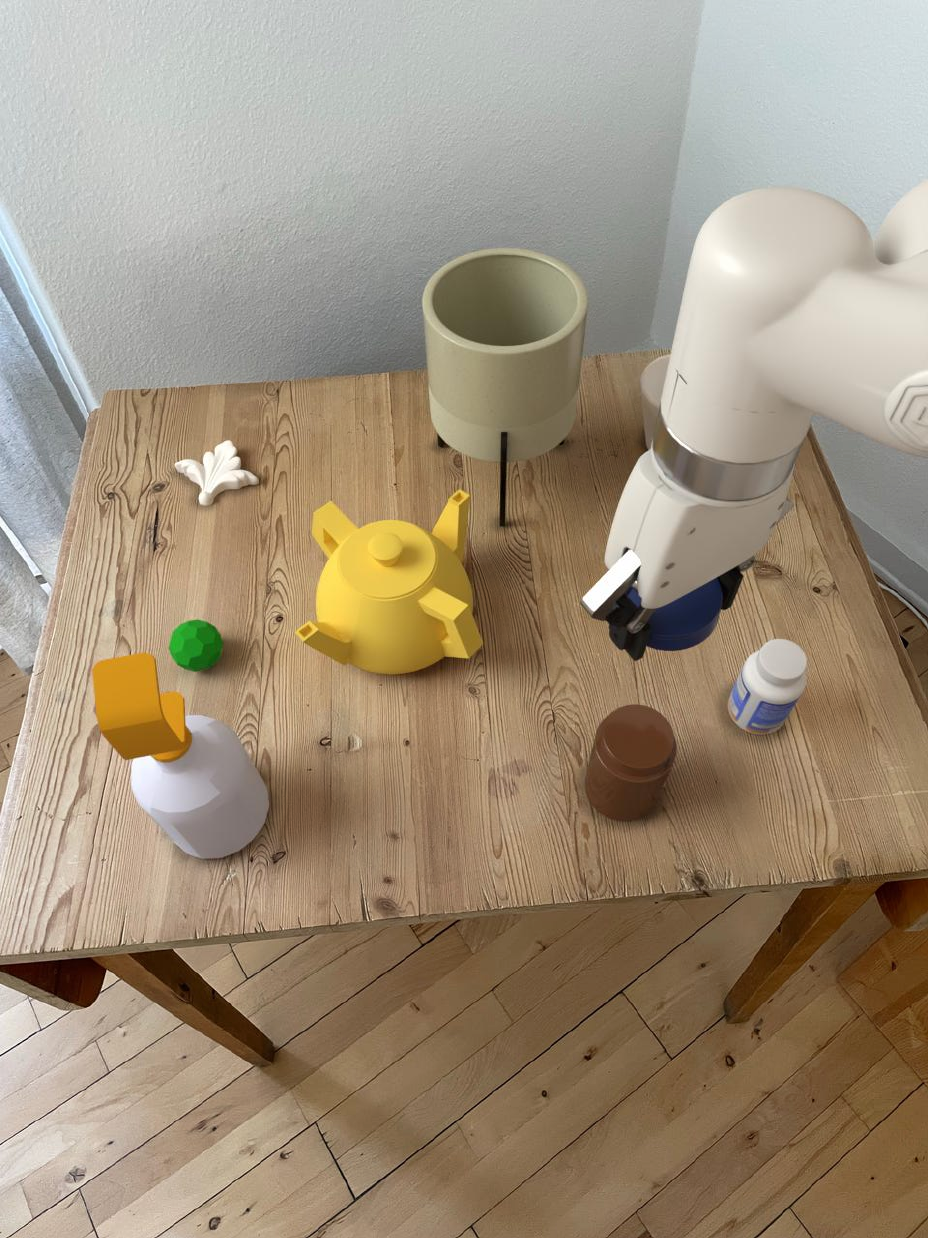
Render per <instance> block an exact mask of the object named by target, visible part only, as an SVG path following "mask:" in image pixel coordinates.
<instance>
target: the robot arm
mask: <svg viewBox="0 0 928 1238" xmlns="http://www.w3.org/2000/svg"><path fill="white" fill-rule="evenodd" d="M682 293H683V294H682V297H681V303H680V307H679V312H678V317H677V321H676V327H675V330H674V336H673V341H672V346H671V351H670V354H671V355H670V361H669V365H668V369H667V374H666V378H665V383H664V387H663V392H662V397H661V401H660V406H659V411H658V415H657V420H656V425H655V429H654V434H653V439H652V444H651V449H650V450H648V449H647V451H645V452H644V453H642V455H640V457H639V458H638V460H637V461H636V463H635V464H634V467H633V469H632V471H631V473H630V475H629V476H628V478H627V481H626V483H625V486H624V487H623V490H622V493H621V495H620V499H619V501H618V504H617V507H616V510H615V513H614V517H613V520H612V524H611V526H610V530H609V535H608V539H607V543H606V548H605V553H604V565H605V567H606V568H607V569H608V571H607V572H606V573H605V574H604V575H603V576H602V577H601V578H600V579H599V580H598V582H597V583H595V585H593V587H592V588H591V589H590V590H588V592H587V593H586V594H585V595H583V597H582V598H581V599H580V601H579V605H580V606H581V607H582V608H583V609H584V610H585V612H586V613H587V614H588V616H590V618H592V619H594V620H597V621H601V622H606V623H607V624H608V637H609V639H610V640H611V642H612V643H613V644H614V646H615V647H616V648H617V649H618V650H620V651H625V652H626V653H627V655H628V656H629V657H630V658H631V660H633V661H634V662H637V661H639V660H641V659H643V658H644V656H645V653H646V648H647V642H648V639H649V635H650V632H651V626H650V624H649V623H648V620H649V619H650V618H651V616H652V615H653V613H654V612H655V611H656V609H657V608H660V607H662V606H665V605H667V604H669V603H671V602H673V601H675V600H676V599H678V598H680V597H682V596H684V595H686V594H688V593H689V592H691V591H693V590H695V589H697V588H698V587H700V586H702V585H704V584H706V583H707V582H709V581H711V580H713V579H715V578H716V577H717V579H718V580H719V583H720V585H721V588H722V594H723V599H722V606H721V611H722V610H723V611H726V610H728V609H730V608H732V607H733V604H734V601H735V599H736V597H737V594H738V591H739V589H740V587H741V584H742V581H743V579H744V576H745V575H744V574H743V573H745V572H747V571H748V570H749V569H751V568H752V567H753V566H754V564H755V562H756V557H755V555H756V554H758V553H759V552H760V551H761V550H762V549H763V548H764V547H765V546H766V545H767V543H768V541H769V540H770V539H771V537H772V534H773V533H774V531H775V528H776V527H777V525H778V524H779V523H780V521H782V520H783V519H784V518H785V516H786V515H787V514H788V513H789V512H790V511H791V510H792V509H793V507H794V505H795V503H794V502H793V501H792V500H791V499H790V498H788V497H787V496H788V494H789V490H790V487H791V483H792V478H793V474H794V470H795V466H796V465H795V464H796V461H797V458H798V456H799V453H800V451H801V449H802V446H803V444H804V442H805V439H806V436H807V435H808V432H809V429H810V427H811V425H812V422H813V419H814V418H815V415H816V414H818V415H820V416H822V417H824V418H826V419H828V420H830V421H832V422H834V423H837V424H839V425H841V426H842V427H845V428H847V429H849V430H851V431H853V432H855V433H857V434H859V435H861V436H863V437H866V438H867V439H870V440H872V441H874V442H876V443H879V444H881V445H884V446H885V447H888V448H891V449H893V450H896V451H899V452H902V453H904V454H907V455H910V456H911V455H912V456H916V457H919V458H923V459H928V177H927V178H925V179H924V180H921V181H920V182H919V183H918V184H917V185H915V186H914V187H913V188H911V189H910V190H909V191H907V192H906V193H905V194H904V195H903V196H902V197H900V199H899V200H898V201H897V202H896V203H895V204H894V206H893V207H892V208H891V209H890V210H889V212H888V213H887V215H886V216H885V218H884V219H883V221H882V223H881V225H880V227H879V229H878V231H877V233H876V236H875V239H874V241H873V238H872V236H871V234H870V231H869V228H868V227H867V225H866V224H865V222H864V221H863V220H862V218H861V217H860V216H859V215H858V214H856V213H855V212H854V211H853V210H852V209H851V208H850V207H848V206H847V205H845V204H844V203H842V202H841V201H839V200H837V199H835V198H833V197H831V196H829V195H827V194H823V193H820V192H818V191H814V190H810V189H804V188H798V187H788V186H773V187H762V188H756V189H753V190H748V191H746V192H743V193H741V194H737V195H735V196H733V197H731V198H729V199H728V200H725V201H724V202H723V203H721V204H720V205H719V206H718V207H716V208H715V210H713V211H712V212H711V214H709V216H708V217H707V219H706V220H705V221H704V223H703V224H702V226H701V228H700V229H699V232H698V234H697V236H696V238H695V241H694V244H693V249H692V252H691V256H690V260H689V265H688V270H687V274H686V279H685V284H684V288H683V292H682ZM632 589H634V590H635V591H636V592H637V593H638V594H639V596H640V597H641V598H642V600H641V605H640V606H639V607H637V606H636V605H635V604H634V603H633V601H632V600H631V599H630V598H628V597H627V596H628V595H629V593H630V592H631V590H632Z"/></svg>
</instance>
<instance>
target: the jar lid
mask: <svg viewBox="0 0 928 1238" xmlns="http://www.w3.org/2000/svg"><path fill="white" fill-rule="evenodd" d="M627 597H628V598H630V599H631V600H632V601H633V603H634V604H635V605H636V606H637V607H639V606H640V605H641V600H642V598H641V597H640V596H639V594H638V593H637V592H636V591H635V590H634V589H632V590H631V592H630V593H629V595H628V596H627ZM722 599H723V594H722V588H721V585H720V583H719V580H718V579H717V577H716V578H715V579H713V580H711V581H709V582H707V583H706V584H704V585H702V586H700V587H698V588H697V589H695V590H693V591H691V592H689V593H688V594H686V595H684V596H682V597H680V598H678V599H676V600H675V601H673V602H671V603H669V604H667V605H665V606H662V607H660V608H657V609H656V611H655V612H654V613H653V615H652V616H651V618H650V619H649V620H648V623H649V624H650V626H651V632H650V635H649V639H648V642H647V646H646V648H650V649H653V650H657V651H664V652H678V651H685V650H688V649H691V648H693V647H696V646H698V645H699V644H701V643H703V642H705V640H707V639H708V638H709V637H710V636H711V635H712V633H714V631H715V629H716V627H717V626H718V623H719V619H720V616H721V615H720V614H721V611H722V610H721V606H722Z"/></svg>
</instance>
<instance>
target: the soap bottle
mask: <svg viewBox="0 0 928 1238" xmlns="http://www.w3.org/2000/svg"><path fill="white" fill-rule="evenodd" d="M91 672H92V684H93V693H94V694H93V695H94V703H95V704H94V705H95V714H96V715H95V716H96V720H97V724H98V728H99V730H100V733H101V734H102V736H103V737H104V739H105V740H106V741H107V742H108V743H109V745H110V746H111V747H112V748H113V749H114V750H115V751H116V752H117V754H118V755H119V756H120V757H121V759H123V760H125V761H129V760H132V762H131V767H130V773H131V774H130V777H131V778H130V788H131V791H132V793H133V795H134V797H135V800H136V802H137V804H138V806H139V807H140V808H141V809H142V810H143V811H144V812H145V813H146V814H147V815H148V816H149V818H151V820H153V821H154V823H155V824H156V825H157V826H158V827H159V828H160V829H161V830H162V831H163V832H164V833H165V834H166V836H167V837H168V838H169V839H170V840H171V841H172V842H173V844H175V845H176V846H177V847H179V849H181V850H182V851H183V852H184V854H187V855H190V856H192V857H195V858H199V859H202V860H203V859H204V860H205V859H207V860H209V859H222V858H225V857H227V856H230V855H232V854H235V853H238V852H240V851H241V850H242V849H244V848H245V847H246V846H247V845H249V844H250V843H251V842H252V841H254V840H255V839H256V837H257V835H258V834H259V833H260V831H261V830H262V828H263V827H264V825H265V823H266V819H267V817H268V812H269V808H270V801H269V800H270V799H269V790H268V788H267V786H266V784H265V782H264V780H263V778H262V777H261V775H260V772H259V771H258V769H257V767H256V766H255V764H254V762H253V760H252V759H251V757H250V755H249V753H248V752H247V749H246V748H245V746H244V744H243V743H242V740H241V739H240V737H239V736H238V734H237V732H236V731H235V730H233V728H231V727H230V726H229V725H228V724H226V723H225V722H224V721H222V720H219V719H215V718H212V717H209V716H206V715H202V714H188V715H186V701H185V698H184V696H183V695H182V693H181V692H178V691H176V690H173V691H169V692H164V693H160V683H159V677H158V667H157V659H156V658H155V656H153V654H151V653H148V652H144V651H143V652H139V653H134V654H128V655H122V656H117V657H111V658H106V659H101V660H99V661H98V662H95V663H94V665H93V667H92V669H91Z"/></svg>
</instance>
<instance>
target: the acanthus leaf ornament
mask: <svg viewBox="0 0 928 1238" xmlns="http://www.w3.org/2000/svg"><path fill="white" fill-rule="evenodd" d="M237 454H238V449H237V447H235V445H234V443H233V441H232V440H225V441H223V442H221V443H220V444H217V445H216V446H215V448H214V453H213V452H212V451H206V452H205V453H204V455H203V458H202V463H203V464H202V463H200V462H199V461H197V460H195V459H191V458H185V459H182V460H180V461H177V462H174V468H175V469H176V471H177V472H178V473H180V474H183V475H184V476H185V477H187V478H188V479H189V480H190V481H191V482H193V483H195V484H197V485H198V486H200V489H201V492H200V493H199V495H198V503H199V504H200V505H201V506H205V507H208V506H210V505H212V504H213V503H214V501H215V497H216V496H218V495H219V494H220V493H222V492H224V491H227V490H239V489H241V488H242V487H248V486H249V485H254V486H255V485H258V484H260V480H259V478H258V477H257V475H254V474H253V473H252V472H250V471H249V470H246V469H242V468H241V467H242V459H241V457H239V456H237Z"/></svg>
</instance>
